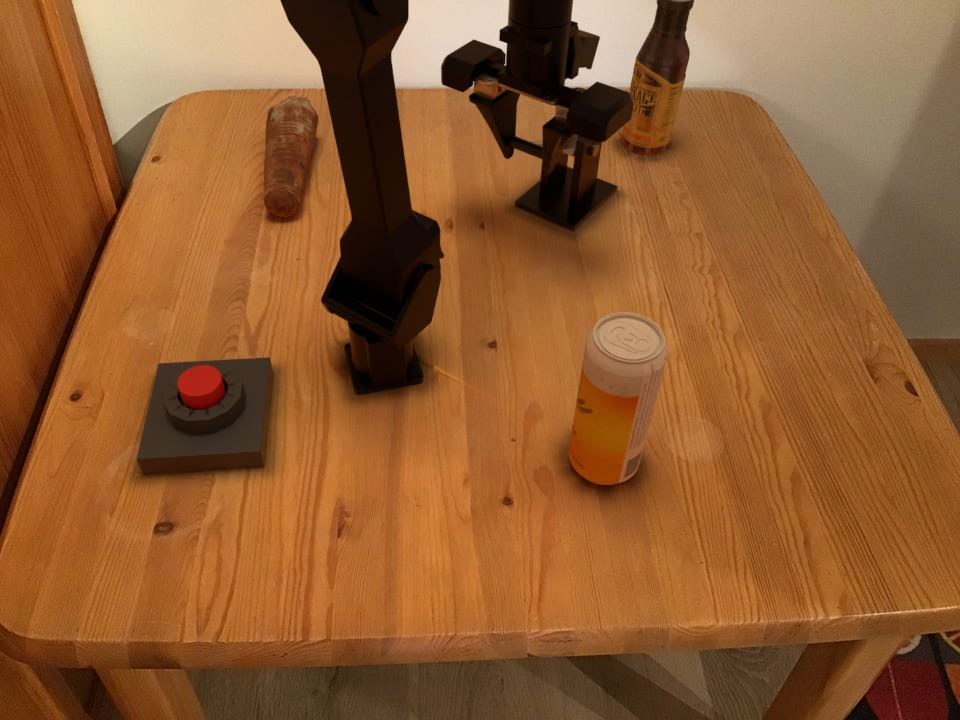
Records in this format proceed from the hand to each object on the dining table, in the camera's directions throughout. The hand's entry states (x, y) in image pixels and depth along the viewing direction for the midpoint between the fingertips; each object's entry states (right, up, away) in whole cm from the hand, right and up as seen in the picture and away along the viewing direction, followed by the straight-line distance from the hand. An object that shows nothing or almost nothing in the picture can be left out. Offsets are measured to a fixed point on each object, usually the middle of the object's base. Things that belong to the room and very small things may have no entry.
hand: (528, 165), depth 87 cm
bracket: (+5, -1, +12) cm, 14 cm away
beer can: (+6, -29, -14) cm, 33 cm away
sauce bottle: (+16, +7, +21) cm, 28 cm away
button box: (-29, -26, -12) cm, 40 cm away
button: (-29, -23, -15) cm, 40 cm away
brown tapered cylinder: (-27, +2, +15) cm, 31 cm away
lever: (+3, +2, +3) cm, 5 cm away
